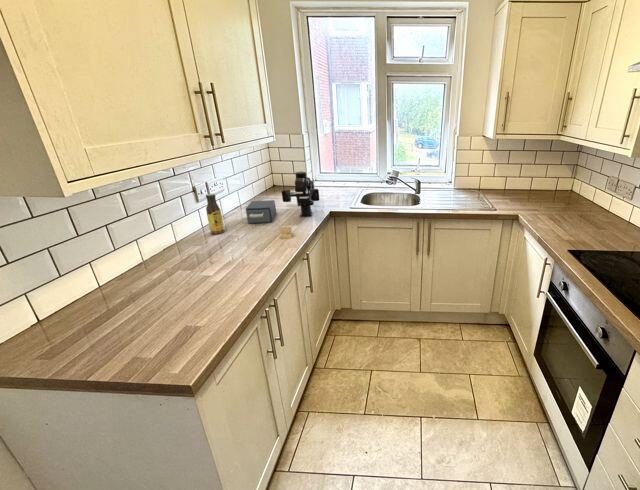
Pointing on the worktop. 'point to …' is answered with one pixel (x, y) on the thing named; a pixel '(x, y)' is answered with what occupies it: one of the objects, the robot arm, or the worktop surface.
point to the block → (286, 232)
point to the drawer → (258, 215)
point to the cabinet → (263, 207)
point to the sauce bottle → (214, 215)
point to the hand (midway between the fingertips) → (299, 199)
